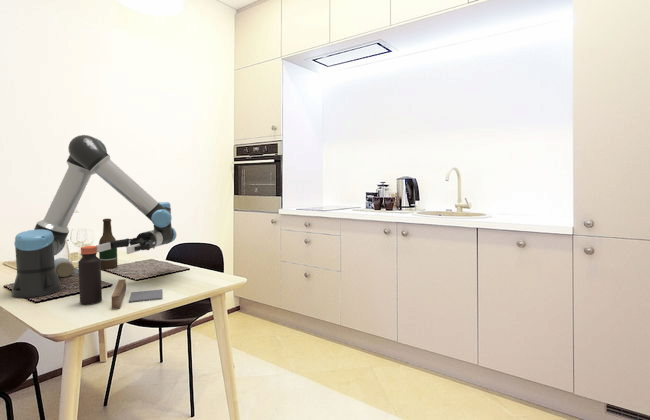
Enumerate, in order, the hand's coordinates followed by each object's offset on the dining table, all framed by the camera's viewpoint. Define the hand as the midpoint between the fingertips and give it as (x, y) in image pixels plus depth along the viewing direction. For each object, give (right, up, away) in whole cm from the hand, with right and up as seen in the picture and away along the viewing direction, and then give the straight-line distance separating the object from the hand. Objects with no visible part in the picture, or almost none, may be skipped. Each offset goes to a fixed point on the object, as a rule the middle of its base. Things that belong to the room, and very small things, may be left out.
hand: (111, 249), depth 144 cm
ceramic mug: (-35, -15, +26) cm, 46 cm away
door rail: (+5, -18, -5) cm, 19 cm away
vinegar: (-3, -18, -8) cm, 20 cm away
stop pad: (+14, -17, -1) cm, 22 cm away
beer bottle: (-25, -13, +41) cm, 50 cm away
